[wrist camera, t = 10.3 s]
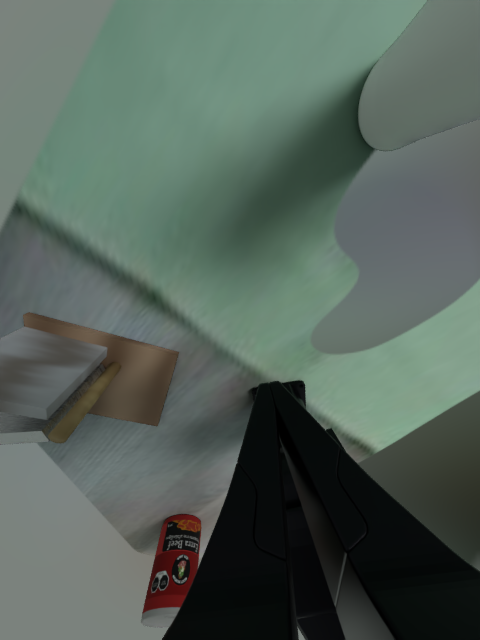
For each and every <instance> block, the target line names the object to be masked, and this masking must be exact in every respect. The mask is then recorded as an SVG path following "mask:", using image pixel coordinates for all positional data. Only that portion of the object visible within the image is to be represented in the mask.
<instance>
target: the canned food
mask: <svg viewBox="0 0 480 640" xmlns="http://www.w3.org/2000/svg"><path fill="white" fill-rule="evenodd" d="M200 537H201V521H200V520H199V519H198V518H197V517H195V516H193V515H188V514H179V515H174V516H171V517H169V518H167V519H166V520H165V522H164V524H163V526H162V529H161V534H160V538H159V542H158V547H157V551H156V555H155V560H154V564H153V569H152V573H151V578H150V582H149V586H148V590H147V595H146V599H145V604H144V609H143V613H142V619H141V623H142V624H143V625H145V626H149V627H161V628H162V627H170V625H171V624H172V622H173V620H174V618H175V617H176V615H177V613H178V611H179V609H180V607H181V605H182V603H183V601H184V599H185V597H186V595H187V593H188V591H189V589H190V586H191V584H192V582H193V580H194V577H195V575H196V572H197V570H198V559H199V548H200Z"/></svg>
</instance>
